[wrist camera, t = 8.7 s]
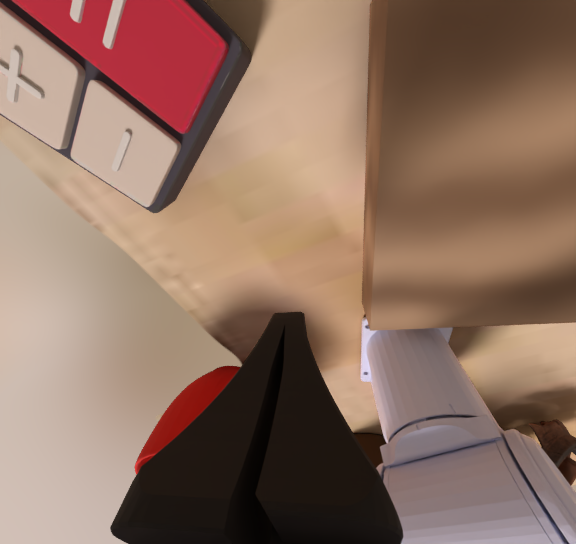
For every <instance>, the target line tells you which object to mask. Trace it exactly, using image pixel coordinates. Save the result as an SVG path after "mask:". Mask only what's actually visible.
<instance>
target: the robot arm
mask: <svg viewBox="0 0 576 544" xmlns="http://www.w3.org/2000/svg"><path fill="white" fill-rule="evenodd" d="M366 325H368V322H367V318H366V317H364V318H363V319H362V338H361V372H360V377H361V380H362V381H365V382H371V385H372V389H373V394H374V398H375V402H376V407H377V411H378V415H379V419H380V424H381V428H382V432H383V436H384V438H385V441H386V443H387V444H385V445H382V446H381V447H380V449H381V454H382V459H383V463H382V464H380V465H379V466H378V467H377V468H376V467H375V466H374V464H373V463H372V461H371V460H370V459H369V457H368V456H367V454H366V453H365V451H364V449H363V448H362V446H361V445H360V443H359V442H358V440H357V439H356V437H355V435H354V434H353V432H352V431H351V429H350V427H349V426H348V424H347V422H346V421H345V419H344V417H343V415H342V414H341V412H340V410H339V408H338V407H337V405H336V403H335V401H334V399H333V397H332V395H331V394H330V392H329V390H328V388H327V386H326V384H325V381H324V379H323V377H322V375H321V373H320V371H319V368H318V366H317V363H316V361H315V358H314V356H313V353H312V350H311V347H310V344H309V341H308V338H307V332H306V325H305V317H304V313H302V312H288V313H275V314H274V315H273V316H272V318H271V320H270V322H269V324H268V326H267V327H266V329H265V331H264V333H263V334H262V336H261V338H260V339H259V341H258V343H257V344H256V346H255V347H254V349H253V350H252V352H251V353H250V355H249V356H248V358H247V359H246V360H245V362H244V363H243V365H242V366H241V368H240V369H239V370H238V371H237V373H236V374H235V375H234V377H233V378H232V379H231V380H230V382H229V383H228V384H227V385H226V386H225V388H224V389H223V390H222V391H221V392H220V393H219V394H218V395H217V397H216V398H215V399H214V400H213V401H212V402H211V403H210V404H209V405H208V406H207V407H206V408H205V409H204V410H203V412H202V413H200V414H199V415H198V416H197V417H196V418H195V419H194V420H193V421H192V422H191V423H190V424H189V425H188V426H187V427H186V428H185V429H184V430H183V431H182V432H181V433H180V434H179V435H177V436H176V437H175V438H174V439H173V440H172V441H171V442H169V443H168V444H167V445H166V446H165V447H164V448H162V449H161V450H160V451H159V452H158V453H157V454H155V455H154V456H153V457H152V458H151V459H150V460H148V461H147V462H146V463H145V464H144V465H142V466H141V468H140V470H139V472H138V473H137V475H136V477H135V479H134V480H133V482H132V484H131V486H130V488H129V490H128V492H127V494H126V496H125V498H124V501H123V503H122V505H121V507H120V509H119V511H118V513H117V515H116V517H115V519H114V521H113V523H112V525H111V532H112V534H113V535H114V536H115V537H117V538H118V539H121V540H122V541H124V542H126V543H128V544H576V492H575V491H574V490H573V488H572V487H571V486H570V484H569V483H568V482H567V480H566V479H565V478H564V476H563V475H562V474H561V472H560V471H559V470H558V468H557V467H556V466H555V464H554V463H553V462H552V460H551V459H550V458H549V457H548V455H547V454H546V453H545V452H544V450H543V449H542V448H541V447H540V446H539V444H538V443H537V442H536V441H535V440H534V439H533V438H531V437H528V436H526V435H524V434H521V433H520V432H519V431H517V430H515V429H510V430H506V431H503V430H502V429H501V427H500V426H499V425H498V424H497V422H496V420H495V419H494V417H493V415H492V414H491V412H490V411H489V409H488V407H487V406H486V404H485V403H484V401H483V399H482V398H481V396H480V394H479V393H478V391H477V390H476V388H475V386H474V385H473V383H472V382H471V380H470V378H469V377H468V375H467V374H466V372H465V370H464V369H463V367H462V365H461V364H460V362H459V361H458V359H457V357H456V356H455V354H454V353H453V351H452V349H451V348H450V346H449V344H448V343H449V339H450V336H451V333H452V330H453V327H449V328H425V329H400V330H375V331H370V329H369V326H366Z"/></svg>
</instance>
